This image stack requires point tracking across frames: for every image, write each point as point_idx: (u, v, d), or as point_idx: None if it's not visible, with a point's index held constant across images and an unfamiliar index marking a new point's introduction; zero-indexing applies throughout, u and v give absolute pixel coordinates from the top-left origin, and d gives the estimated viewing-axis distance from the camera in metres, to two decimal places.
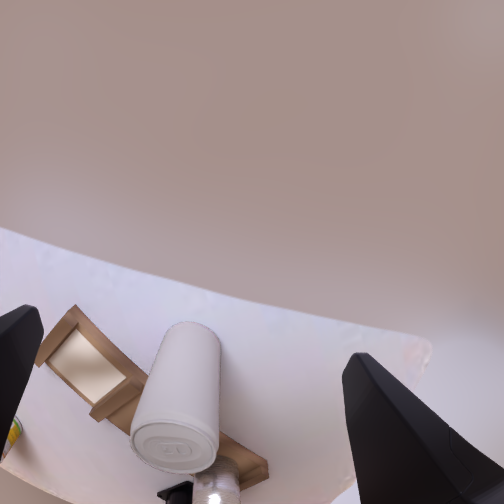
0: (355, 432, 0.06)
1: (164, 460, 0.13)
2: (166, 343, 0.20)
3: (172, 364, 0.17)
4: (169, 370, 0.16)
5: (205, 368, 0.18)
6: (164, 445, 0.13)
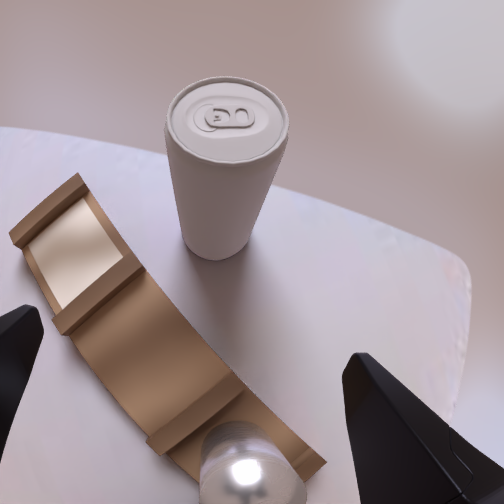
0: (355, 432, 0.06)
1: (209, 138, 0.10)
2: None
3: None
4: None
5: None
6: (218, 109, 0.10)
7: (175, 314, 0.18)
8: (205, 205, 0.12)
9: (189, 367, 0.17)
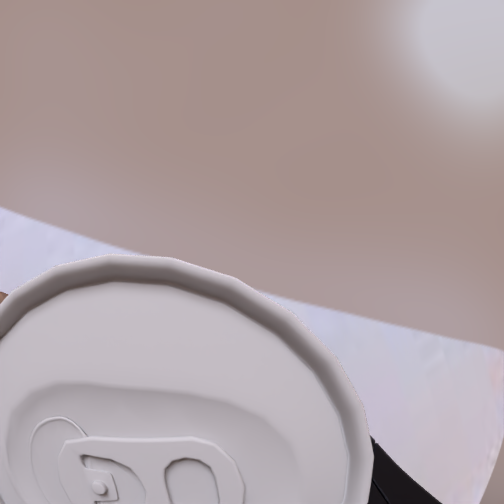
0: None
1: None
2: None
3: None
4: None
5: None
6: (97, 457, 0.02)
7: None
8: None
9: None
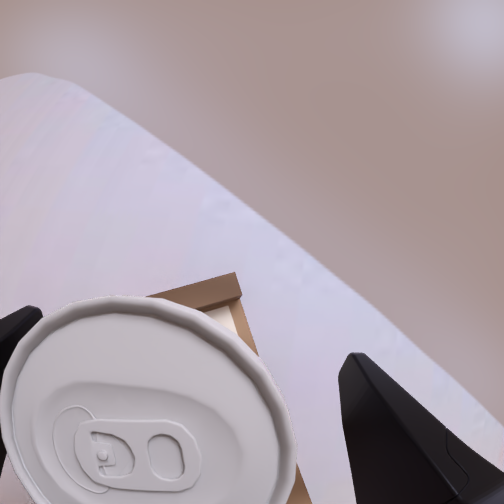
0: (351, 432, 0.06)
1: None
2: None
3: None
4: None
5: None
6: (102, 433, 0.03)
7: (296, 477, 0.13)
8: None
9: None
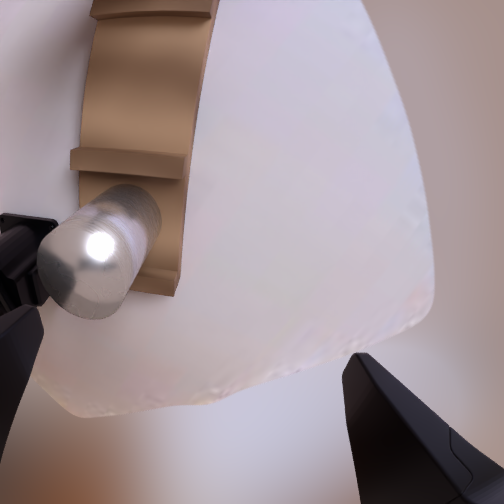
0: (355, 432, 0.06)
1: None
2: None
3: None
4: None
5: None
6: None
7: (195, 71, 0.14)
8: None
9: (161, 121, 0.15)
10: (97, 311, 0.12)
